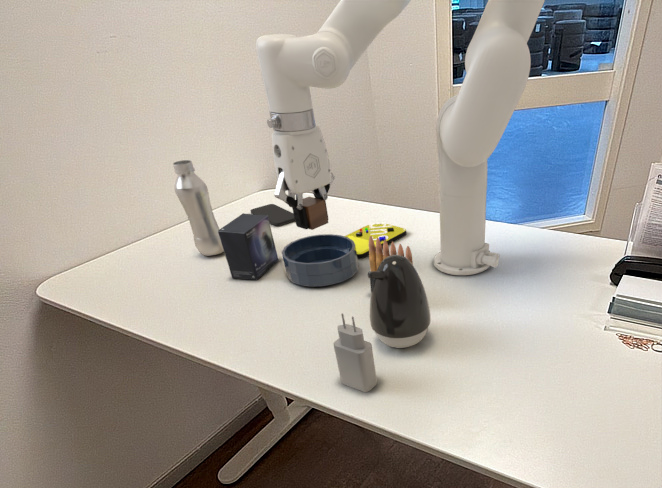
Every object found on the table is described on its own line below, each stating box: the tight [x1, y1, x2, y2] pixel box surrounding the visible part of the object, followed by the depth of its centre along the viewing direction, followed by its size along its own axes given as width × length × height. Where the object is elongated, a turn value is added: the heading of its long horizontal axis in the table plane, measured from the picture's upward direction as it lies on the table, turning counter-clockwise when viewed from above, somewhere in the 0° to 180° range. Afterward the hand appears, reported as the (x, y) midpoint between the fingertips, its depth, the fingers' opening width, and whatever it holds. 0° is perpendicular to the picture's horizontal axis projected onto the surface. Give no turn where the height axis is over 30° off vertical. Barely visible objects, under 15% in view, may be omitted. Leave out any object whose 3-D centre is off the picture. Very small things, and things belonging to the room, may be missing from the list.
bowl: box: [281, 233, 360, 288], centre depth 102 cm, size 15×15×6 cm
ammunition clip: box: [368, 236, 414, 292], centre depth 90 cm, size 11×2×12 cm, turn 54°
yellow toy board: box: [344, 222, 407, 260], centre depth 116 cm, size 18×11×2 cm, turn 146°
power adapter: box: [332, 313, 378, 393], centre depth 71 cm, size 3×5×12 cm, turn 60°
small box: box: [218, 213, 279, 281], centre depth 103 cm, size 11×6×10 cm, turn 168°
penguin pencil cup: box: [367, 254, 432, 349], centre depth 78 cm, size 10×10×15 cm
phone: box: [250, 203, 295, 227], centre depth 131 cm, size 7×1×15 cm
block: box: [303, 196, 329, 231], centre depth 96 cm, size 4×4×4 cm
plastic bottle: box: [172, 159, 224, 257], centre depth 107 cm, size 6×7×20 cm
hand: (312, 222), depth 97 cm, fingers closed on block, 4 cm apart
